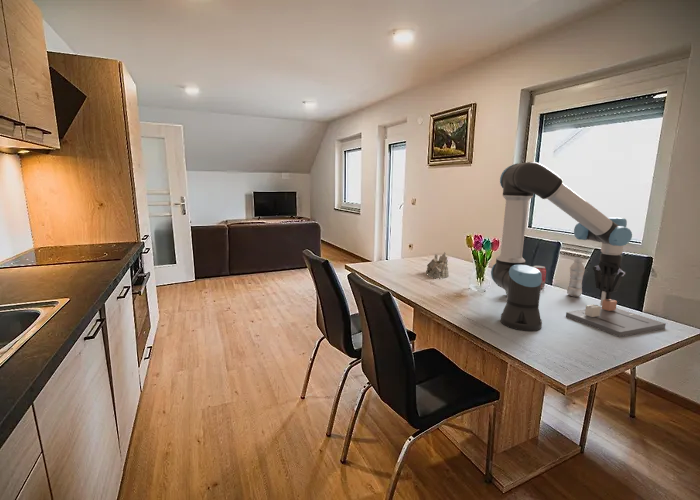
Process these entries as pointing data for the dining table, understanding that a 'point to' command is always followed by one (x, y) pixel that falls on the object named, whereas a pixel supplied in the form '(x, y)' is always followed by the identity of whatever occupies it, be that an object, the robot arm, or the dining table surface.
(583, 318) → the fader panel
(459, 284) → the dining table surface
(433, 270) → the ceramic cottage
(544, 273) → the soda can
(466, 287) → the dining table surface
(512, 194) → the robot arm
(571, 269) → the plastic bottle
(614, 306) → the terracotta fader
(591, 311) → the white fader
